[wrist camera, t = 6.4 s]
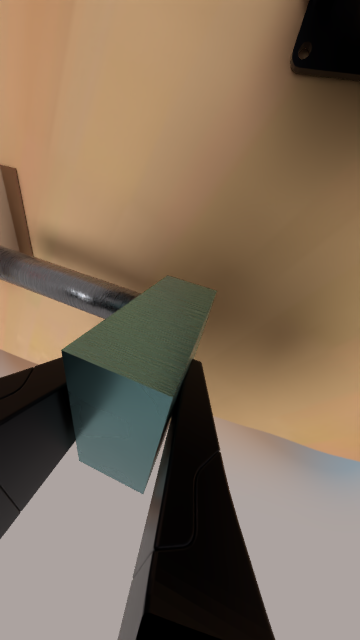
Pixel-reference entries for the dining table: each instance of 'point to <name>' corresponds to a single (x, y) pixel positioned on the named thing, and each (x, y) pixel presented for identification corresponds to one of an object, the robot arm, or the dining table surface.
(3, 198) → the eye block
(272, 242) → the dining table surface
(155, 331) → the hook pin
